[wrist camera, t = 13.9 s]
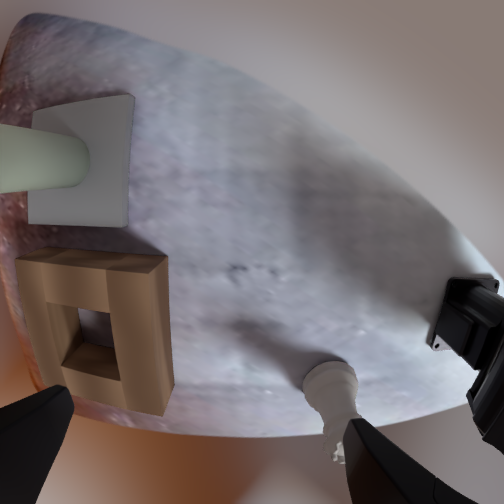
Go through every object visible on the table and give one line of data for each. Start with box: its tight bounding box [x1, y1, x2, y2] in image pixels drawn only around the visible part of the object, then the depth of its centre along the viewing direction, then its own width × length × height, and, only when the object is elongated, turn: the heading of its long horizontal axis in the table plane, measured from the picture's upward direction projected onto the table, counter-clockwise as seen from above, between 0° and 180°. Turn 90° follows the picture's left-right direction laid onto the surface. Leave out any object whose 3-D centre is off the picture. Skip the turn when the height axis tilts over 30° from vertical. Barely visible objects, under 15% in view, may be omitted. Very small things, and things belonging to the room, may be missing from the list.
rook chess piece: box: [303, 361, 362, 464], centre depth 18 cm, size 4×4×8 cm
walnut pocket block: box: [15, 247, 175, 417], centre depth 19 cm, size 11×11×4 cm
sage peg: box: [0, 124, 90, 193], centre depth 12 cm, size 4×4×12 cm
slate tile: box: [28, 94, 135, 228], centre depth 18 cm, size 9×9×1 cm
